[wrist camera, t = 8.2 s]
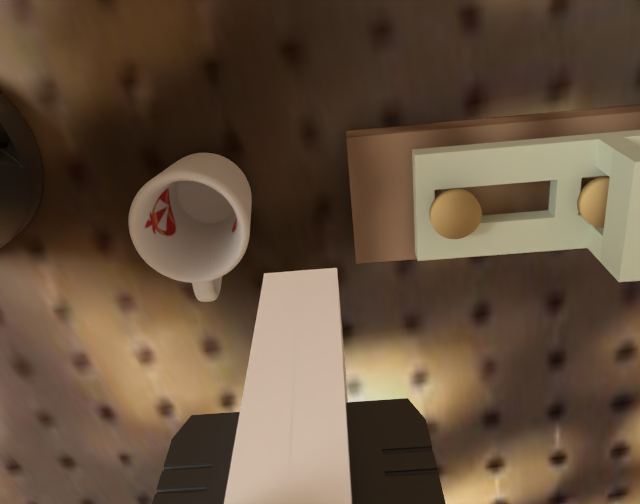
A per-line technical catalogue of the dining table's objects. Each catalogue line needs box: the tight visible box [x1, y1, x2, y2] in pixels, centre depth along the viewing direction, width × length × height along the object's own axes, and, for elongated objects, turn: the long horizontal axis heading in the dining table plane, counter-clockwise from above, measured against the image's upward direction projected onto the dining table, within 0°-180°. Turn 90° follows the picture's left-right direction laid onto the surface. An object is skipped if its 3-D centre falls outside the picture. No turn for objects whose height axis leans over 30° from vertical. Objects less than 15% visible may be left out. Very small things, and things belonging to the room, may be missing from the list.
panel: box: [412, 130, 640, 282], centre depth 40 cm, size 21×8×7 cm, turn 95°
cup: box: [128, 153, 252, 302], centre depth 43 cm, size 11×8×8 cm
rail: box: [346, 105, 640, 264], centre depth 43 cm, size 26×10×6 cm, turn 95°
